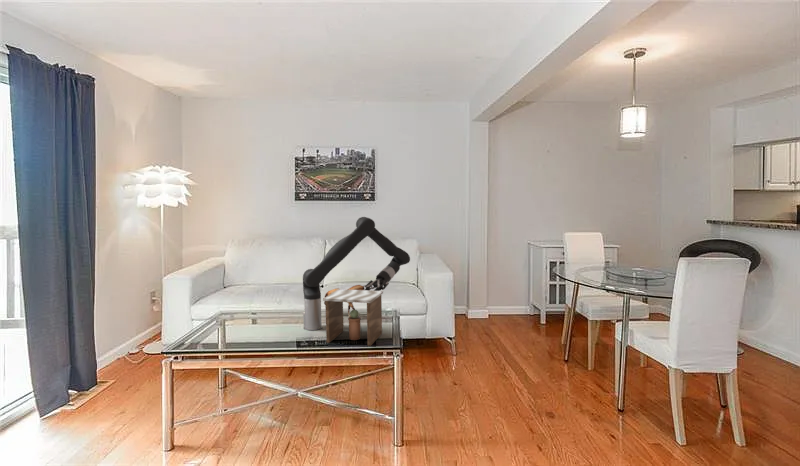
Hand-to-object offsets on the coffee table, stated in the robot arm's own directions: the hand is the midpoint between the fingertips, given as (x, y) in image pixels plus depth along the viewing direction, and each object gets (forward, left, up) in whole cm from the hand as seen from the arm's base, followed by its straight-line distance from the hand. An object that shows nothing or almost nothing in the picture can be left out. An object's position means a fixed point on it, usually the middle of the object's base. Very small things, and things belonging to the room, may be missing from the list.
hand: (369, 293), depth 266 cm
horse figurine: (-23, +22, -20) cm, 38 cm away
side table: (-2, -18, -20) cm, 27 cm away
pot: (-2, -18, -20) cm, 27 cm away
